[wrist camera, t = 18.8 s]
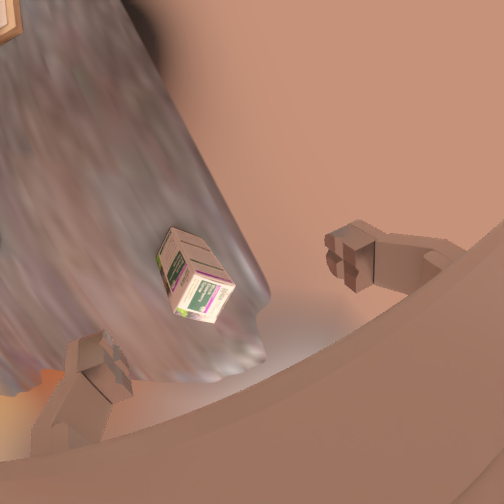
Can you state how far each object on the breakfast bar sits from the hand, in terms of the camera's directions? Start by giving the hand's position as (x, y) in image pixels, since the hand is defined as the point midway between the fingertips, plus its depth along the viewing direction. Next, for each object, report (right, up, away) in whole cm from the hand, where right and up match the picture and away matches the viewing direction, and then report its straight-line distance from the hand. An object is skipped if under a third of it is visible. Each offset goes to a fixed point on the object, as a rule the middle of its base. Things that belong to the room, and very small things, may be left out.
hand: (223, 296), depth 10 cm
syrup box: (-10, +2, +36) cm, 37 cm away
